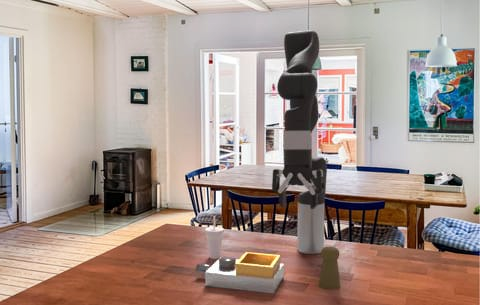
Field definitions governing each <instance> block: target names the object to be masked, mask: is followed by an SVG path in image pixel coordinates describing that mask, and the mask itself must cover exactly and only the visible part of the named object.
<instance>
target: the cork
mask: <svg viewBox="0 0 480 305" xmlns="http://www.w3.org/2000/svg"><path fill="white" fill-rule="evenodd" d="M320 256H321V258H322V261H321V268H320V274H319V275H320V276H319V280H318V281H319V282H318V286H320V288H322V289H323V288H324V289H326V290H335V289H339V288H340V287H341V280H340V271H339V270H340V269H339V263H338V260H339V257H340V251H339V249H338V248H337V247H335V246H325V247H324V248H323V249H322V250H321V253H320Z"/></svg>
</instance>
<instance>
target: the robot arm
mask: <svg viewBox="0 0 480 305" xmlns="http://www.w3.org/2000/svg"><path fill="white" fill-rule="evenodd" d="M283 46H284V47H283V49H284V54H285V55H284V56H285V63H286V70H285V71H283V72H282V73H281V75H280V77H279V78H278V82H277V89H276V90H277V93H278V95H279V97H280V98H281V99H282V100H286V101H289V108H288V109H287V110H285V111H284V135H283V145H282V147H283V169H280V168H275V169H272V178H271V179H272V180H271V190H272V191H273V192H277V193H278V204H279V205H280V208H285V207H287V193H286V191H287V190H288V188H290V187H291V186H299V187H302V186H303V187H305V189H307V190H306V191H303V192H300V193H299V194H298V195H297V240H296V241H297V244H296V246H297V247H296V248H297V249H296V250H297V251H298V252H299V253H302V254H306V255H307V254H308V255H316V254H321V250H322V249H323V248H324V246H325V200H326V199H325V198H326V193H327V192H326V191H327V190H326V188H327V187H326V186H327V173H328V164H327V161H326V159H325V158H324V157H323V156H313V150H312V149H313V148H312V147H313V146H312V145H313V142H312V141H313V140H312V133H313V131H314V129H315V128H316V125H317V123H318V121H319V100H318V98H317V96H316V94H317V90H318V80H317V78H316V76H315V75H314V74H313V67H314V64H315V63H316V61H317V60H318V57H319V53H320V40H319V35H318V33H317V32H316V31H315V30H311V29H310V30H299V31H291V32H286V34H285V35H284V39H283ZM282 176H283V177H284V178H285V179H284V180H283V182H282V183H281V177H282Z"/></svg>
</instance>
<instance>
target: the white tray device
mask: <svg viewBox="0 0 480 305" xmlns="http://www.w3.org/2000/svg"><path fill="white" fill-rule="evenodd" d="M195 270H196V271H195V272H197V273H202V274H204V275H205V276H204V277H205V278H204V280H205V287H215V288H220V289H222V288H223V289H232V290H241V291H247V292H248V291H250V292H255V293H257V292H259V293H266V294H275V292H276V290H277V289H278V287H279V285H280V283H282V282H281V281H282V280H283V278H284V263H281V255H280V254H269V253H259V252H251V251H250V252H248V251H246V252H245V253H243V255H241V257H240V258H239V259H236V258H235V257H232V256H223V257H220V258H217V260H216V261H215V262H214V263H213V264H212V265H211V264H203V263H197V264H196V267H195Z"/></svg>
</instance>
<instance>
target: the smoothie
mask: <svg viewBox="0 0 480 305" xmlns="http://www.w3.org/2000/svg"><path fill="white" fill-rule="evenodd" d="M204 230H205V231H204V233H205V235H206V243H207V250H208V257H209V258H210V259H211V260H212V259H214V260H215V259H217V260H218V259H220V258H221V253H222V244H223V242H222V241H223V236H224V234H223V233H225V229H224V227H220V226H216V215H213V226H209V227H206V228H205V229H204Z"/></svg>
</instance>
